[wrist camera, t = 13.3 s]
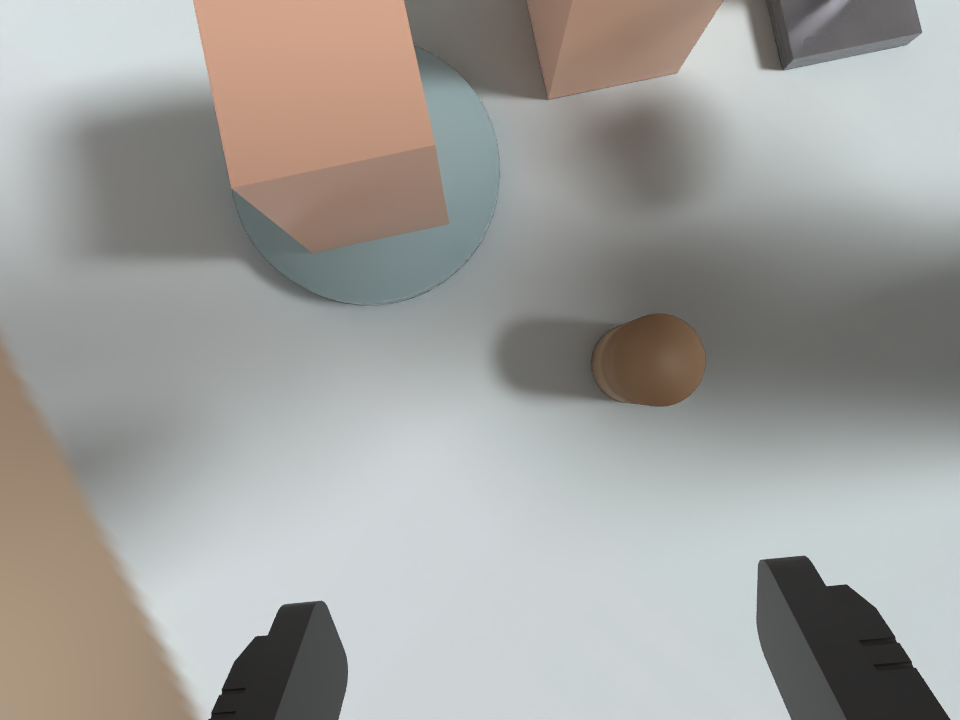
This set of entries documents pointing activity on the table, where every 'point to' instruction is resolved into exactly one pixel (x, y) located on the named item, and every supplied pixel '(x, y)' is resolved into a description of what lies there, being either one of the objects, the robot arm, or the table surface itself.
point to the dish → (416, 255)
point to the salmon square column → (614, 40)
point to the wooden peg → (649, 361)
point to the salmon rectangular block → (323, 116)
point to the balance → (839, 28)
